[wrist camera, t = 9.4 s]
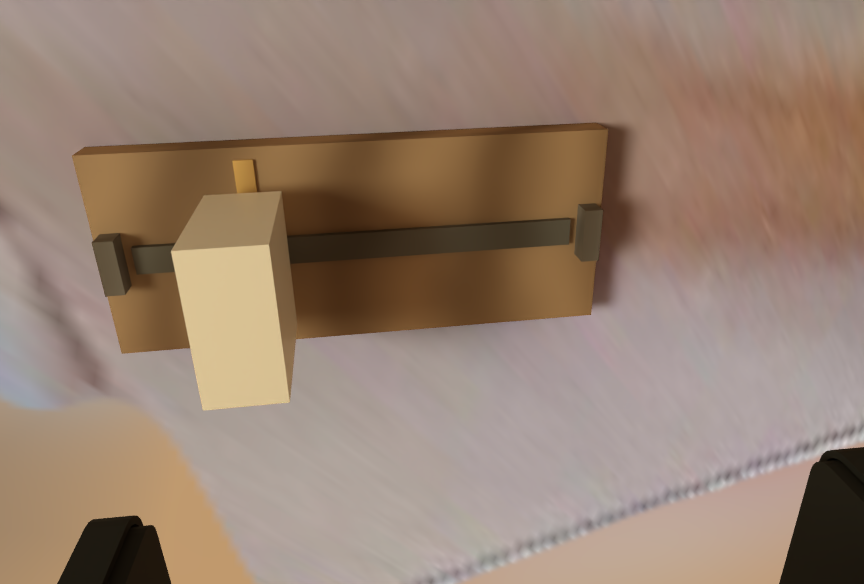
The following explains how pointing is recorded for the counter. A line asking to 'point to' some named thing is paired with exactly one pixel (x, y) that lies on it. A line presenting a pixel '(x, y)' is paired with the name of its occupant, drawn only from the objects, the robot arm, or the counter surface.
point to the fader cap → (238, 299)
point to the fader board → (364, 225)
